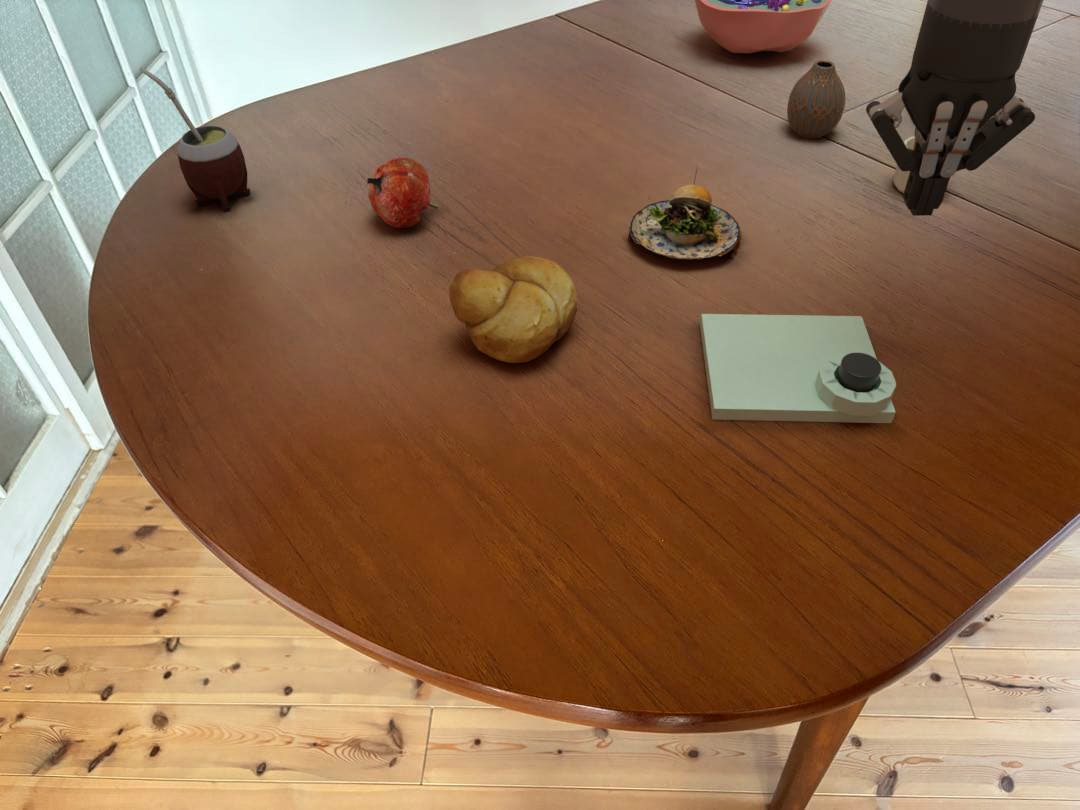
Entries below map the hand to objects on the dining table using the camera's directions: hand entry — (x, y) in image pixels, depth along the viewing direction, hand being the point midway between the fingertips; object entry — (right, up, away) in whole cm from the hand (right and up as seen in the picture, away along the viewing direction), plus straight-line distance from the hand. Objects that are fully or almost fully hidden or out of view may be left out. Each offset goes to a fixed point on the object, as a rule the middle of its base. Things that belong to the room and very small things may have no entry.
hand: (919, 210), depth 74 cm
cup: (+12, +9, +26) cm, 30 cm away
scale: (-10, -14, +4) cm, 17 cm away
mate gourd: (-71, +8, +28) cm, 76 cm away
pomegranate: (-48, +4, +24) cm, 54 cm away
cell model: (0, +37, +57) cm, 68 cm away
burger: (-17, +1, +19) cm, 26 cm away
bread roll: (-34, -10, +9) cm, 36 cm away
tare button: (-6, -15, -1) cm, 16 cm away
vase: (+2, +18, +37) cm, 41 cm away
